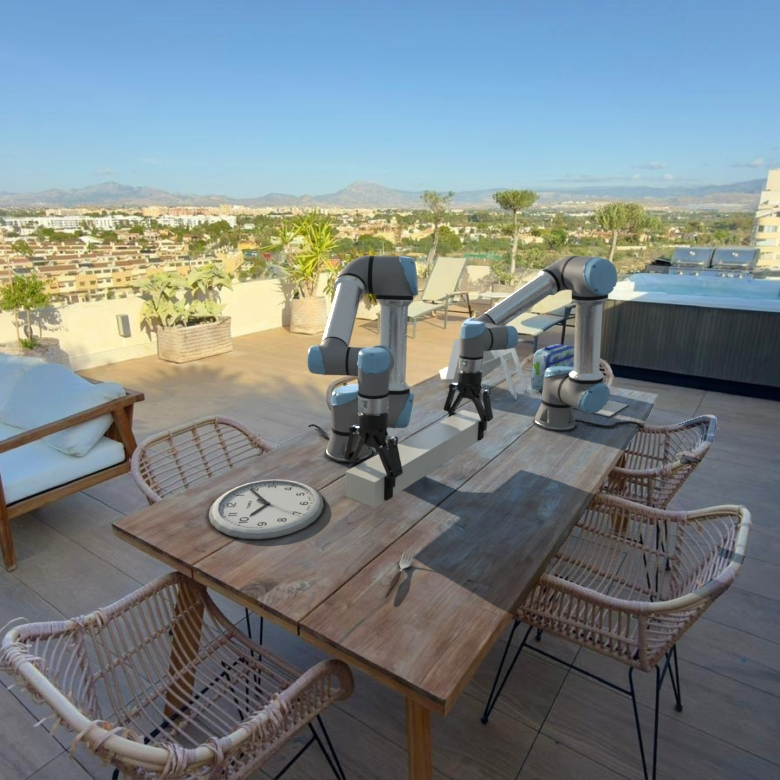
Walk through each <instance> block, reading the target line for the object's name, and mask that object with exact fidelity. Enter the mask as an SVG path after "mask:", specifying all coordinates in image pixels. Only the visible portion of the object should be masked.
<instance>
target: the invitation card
mask: <svg viewBox="0 0 780 780" xmlns="http://www.w3.org/2000/svg"><path fill="white" fill-rule="evenodd" d="M628 406H629V404H627V403H623V402H618V401H614V400H608V402H607V403H606V405H605V406H604V407H603V408H602V409H601V410H600V411H598V412H596V413H595V414H596V415H600V416H604V417H608V418H609V417H611V416H613V415H614V414H616V413H617V412H619V411H621V410H623V409H624V408H626V407H628Z"/></svg>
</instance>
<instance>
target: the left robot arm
mask: <svg viewBox="0 0 780 780" xmlns="http://www.w3.org/2000/svg"><path fill="white" fill-rule="evenodd" d="M418 281H419V280H418V271H417V263H416V261H415V259H414V258H413V257H411V256H402V255H362V256H358V257H356V258H354V259H353V260H351V261H350V262H348V263H346V265H345V266H343V268H342V269H341V270H340V271H339V273H338V274H337V275H336V278H335V281H334V285H333V291H334V297H333V300H332V303H331V306H330V310H329V314H328V317H327V320H326V324H325V326H324V331H323V334H322V337H321V341H320V344H317V345H311V346H310V347H309V348H308V350H307V355H306V356H307V358H306V363H307V369H308V371H309V372H310V373H311V374H314V375H322V376H347V377H348V376H349V377H357V383H353V384H346V385H342V386H339V387H337V388H335V389H334V390H333V391H332V392H331V397H330V399H331V400H330V409H331V410H330V418H331V433H330V436H327V435H325V434H323V432H324V429H323V428H321V427H320V426H319V425H317V424H315V423H310V424H309V425H307V427H308V428H311V427H314V428H316V429H318V430H319V431H320V433H319V435H320V436H321V437H323V438H324V439H327V440H328V443H327V445H326V456H327V458H329V459H330V460H332V461H334V462H338V463H342V464H350V469H351V468H353V467H355V466H357V465H359V464H361V463H362V462H364V461H366V460H368V459H370V458H372V455H373V449H374V450H375V452H376V453H377V455H378V454H379V456H380V459H381V461H382V464H383V466H384V469H385V471H386V474H387V476H385V477H384V500H385V502H387V501H389V500H390V499H392V498H393V497H394V496H393V488H394V487H395V480H396V477H398V476H399V475H401V474H402V473H403V471H402V466H401V461H400V456H399V450H398V444H399V437H398V436H397V435H395V436H391V435H390V434H389V433H388V429H393V430H394V429H406V428H407V427H408V426H409V424H410V421H411V418H412V417H411V416H412V411H413V405H414V398H415V393H414V392H411V388H410V385H409V384H408V382H406V379H407V378H406V375H407V374H406V373H407V350H408V349H407V347H408V345H407V344H408V321H409V320H408V318H409V306H410V305H411V304H412V303H413V302H414V297H416V296H418V295H419V282H418ZM370 294H371V295H375V301H376V302H377V303H378V304H379V306H380V316H379V317H380V319H379V344H377V345H373V346H370V347H362V346H350V345H351V344H350V343H351V340H352V335H353V331H354V326H355V322H356V319H357V314H358V309H359V306H360V301H361V300H362V299H363V298H364V297H365V295H370Z"/></svg>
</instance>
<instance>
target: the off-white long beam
mask: <svg viewBox="0 0 780 780" xmlns="http://www.w3.org/2000/svg"><path fill="white" fill-rule="evenodd" d="M455 413H456V414H454V415H452V416H450V417H449V416H448V417H447V418H445V419H442V420H441V421H439V422H437V423H434V424H433V425H431V426H430V427H428V428H426V429H424V430H421V431H420V432H418V433H416V434H414V435H412V436H410V437H408V438H407V439H405V440H403V441H401V442H398V450H399V456H400V461H401V466H402V471H403V473H402V474H401V475H399V476H398V477H396V480H395V487H394V488H393V497H395V496H396V495H397V494H399V493H400V492H402V491H404V490H405V489H407V488H408V487H410V486H411V485H413V484H415V483H416V482H417V481H419V480H420V479H422V478H424V477H425V476H427V475H428V474H430V473H431V472H433V471H434V470H436V469H438V468H439V467H442V465H444V464H446V463H447V462H448V461H450V460H452V459H453V458H455V457H456V456H458V455H460V454H461V453H463V452H464V451H466V450H467V449H469V448H470V447H472V446H473V445H475V444H477V443H478V442H480V441H479V440H478V425H479V421H480V420H481V419H480V417H479V414H478V412H472V411H468V410H465V409H462V410H459V411H458V412H455ZM488 422H489V421H487V423H488ZM487 432H488V428H487V429H486V430H485V431H484V436H483V439H484V438H486V437H487V435H488V433H487ZM385 476H387V474H386V471H385V469H384V466H383V464H382V461H381V459H380V456H379V454H378V453H377V454H376V455H374V456H371V457H370V458H368V459H366V460H364V461H361V464H359V465H357V466H355V467H353V468H351V467H350V468H349V469H347V470H346V471H345V497H347V498H349V499H351V500H354V501H357V502H359V503H361V504H364V505H366V506H369V507H370V508H373V509H375V508H377V507H379V506H380V505H382V504H383V503H385V502H386V501H385V500H384V477H385Z"/></svg>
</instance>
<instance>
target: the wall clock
mask: <svg viewBox="0 0 780 780" xmlns="http://www.w3.org/2000/svg"><path fill="white" fill-rule="evenodd" d="M323 510H324V499H323V497H322V495H321V494H320V493H319V491H318V490H316V489H315V488H313V487H311V486H310V485H308V484H305V483H301V482H299V481H295V480H288V479H276V478H275V479H274V478H273V479H261V480H257V481H252V482H251V481H250V482H247V483H244V484H241V485H239V486H236V487H233V488H232V489H229V490H227V491H226V492H224V493H223V494H222V495H220V496H219V497H218V498H217V499H216V500H215V501H214V502H213V503H212V505H211V506H210V507H209V512H208V518H209V521H210V524H211V526H213V527H214V528H215V529H216V530H217V531H219V532H220V533H223V534H225V535H226V536H229V537H235V538H238V539H243V540H244V539H248V540H265V539H274V538H279V537H283V536H287V535H291V534H294V533H296V532H299V531H300V530H303V529H304V528H306V527H308V526H310V525H311V524H313V523H314V522H316V520H318V518H319V517H320V515H321V514H322V512H323Z"/></svg>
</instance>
